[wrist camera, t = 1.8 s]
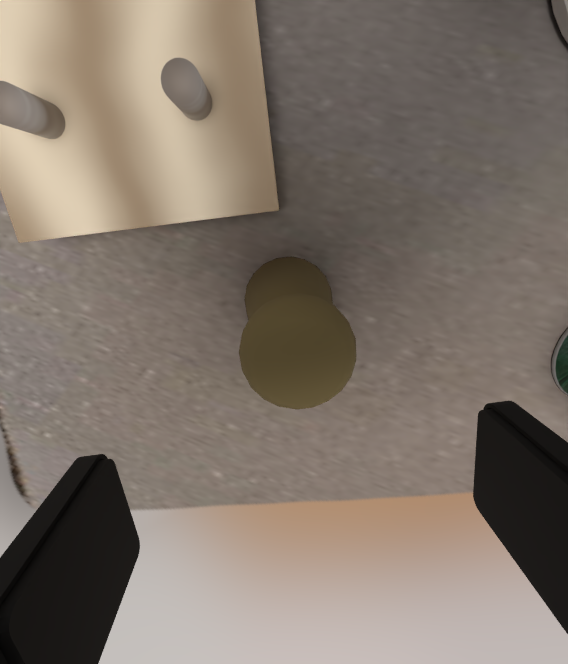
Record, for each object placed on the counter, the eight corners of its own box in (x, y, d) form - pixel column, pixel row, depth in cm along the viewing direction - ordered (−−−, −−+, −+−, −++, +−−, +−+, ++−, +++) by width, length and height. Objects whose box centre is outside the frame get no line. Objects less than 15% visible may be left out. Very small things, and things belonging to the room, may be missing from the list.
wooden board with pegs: (231, -191, 17) (205, -444, 10) (277, 209, 23) (280, 210, 16) (-62, -152, 17) (-272, -378, 10) (60, 237, 23) (-25, 248, 16)
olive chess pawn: (294, 357, 26) (310, 455, 16) (227, 308, 25) (195, 380, 15) (349, 293, 25) (406, 355, 14) (281, 237, 23) (289, 261, 13)
